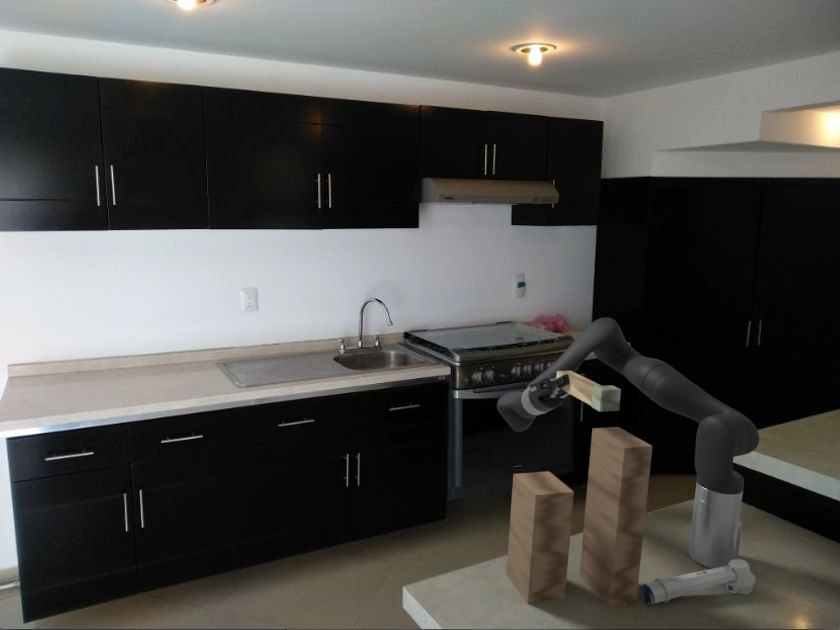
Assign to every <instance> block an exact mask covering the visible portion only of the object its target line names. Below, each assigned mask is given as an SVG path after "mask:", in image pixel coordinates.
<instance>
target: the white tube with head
mask: <svg viewBox="0 0 840 630" xmlns="http://www.w3.org/2000/svg"><path fill="white" fill-rule="evenodd" d="M755 583H756V576H755V574H753V573H752V572H751V567H750V564H749V562H747V561H746V560H744V559H741V558H738V559H733V560H731V561H730V562H729V564H728V566H723V567H718V568H709V569H704V570H701V571H699V570H698V571H696V572H690V573H686V574H681V575H676V576H671V577H666V578H660V577H657V578H655V579H654V580H653V581H651V582H650V581H649V582H647V583H643V584H641V585H640V586H639V589H640V590H639V591H640V595H641V598H642V597H643V598H644V599H645V600H646V601H647V602H648V603H649V604H650V605H649V604H648V605H649V606H652V605H656V604H659V602H660V603H663V602H662V601H664V602H665V603H667V602H669V601H670V600H672V599H676V598H679V597H683V596H686V595H689V594H692V593H693V594H694V593H697V592H699V591H702V590H703V591H704V590H706V589H709V588H712V587H716V586H720V585H722V584H724V587H725V588H727V589H728V590H730V591H733V592H735V593H739V594H738V595H743V594H744V595H745V594H748V595H750V594H751V592H752V591H754V585H755ZM725 588H724V589H725ZM728 590H727V591H728ZM744 595H743V596H744ZM745 596H746V595H745ZM643 598H642V599H643ZM655 603H656V604H655ZM665 603H664V604H665Z"/></svg>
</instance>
